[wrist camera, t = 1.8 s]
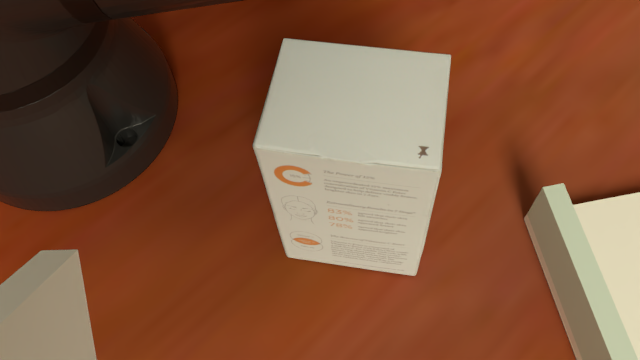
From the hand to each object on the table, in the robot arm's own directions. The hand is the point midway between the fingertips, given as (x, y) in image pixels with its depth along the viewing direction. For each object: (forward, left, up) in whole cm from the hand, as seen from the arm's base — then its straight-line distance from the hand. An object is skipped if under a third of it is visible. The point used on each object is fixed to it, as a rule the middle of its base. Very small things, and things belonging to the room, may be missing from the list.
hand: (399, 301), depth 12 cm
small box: (-12, +2, -23) cm, 26 cm away
